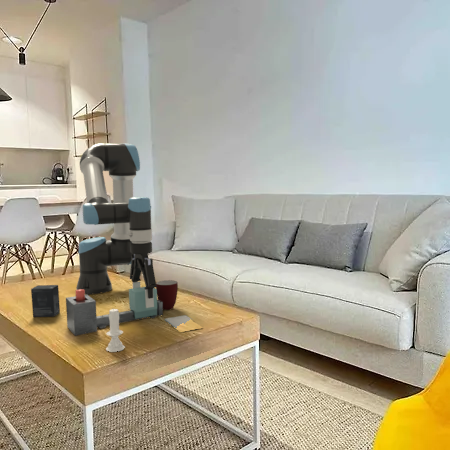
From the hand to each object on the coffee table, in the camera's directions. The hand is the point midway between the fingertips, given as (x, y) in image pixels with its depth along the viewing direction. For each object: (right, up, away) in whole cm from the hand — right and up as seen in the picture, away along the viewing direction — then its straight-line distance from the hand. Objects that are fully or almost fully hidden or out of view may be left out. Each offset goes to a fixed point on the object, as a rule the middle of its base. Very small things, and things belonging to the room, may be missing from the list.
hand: (143, 303), depth 155 cm
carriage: (0, -5, +1) cm, 5 cm away
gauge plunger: (-18, +3, -12) cm, 22 cm away
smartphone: (+15, -6, -8) cm, 18 cm away
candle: (-3, -8, -28) cm, 30 cm away
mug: (+6, -4, +10) cm, 13 cm away
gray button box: (-18, -7, -11) cm, 22 cm away
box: (-36, -5, +6) cm, 37 cm away
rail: (-5, -5, -3) cm, 8 cm away
